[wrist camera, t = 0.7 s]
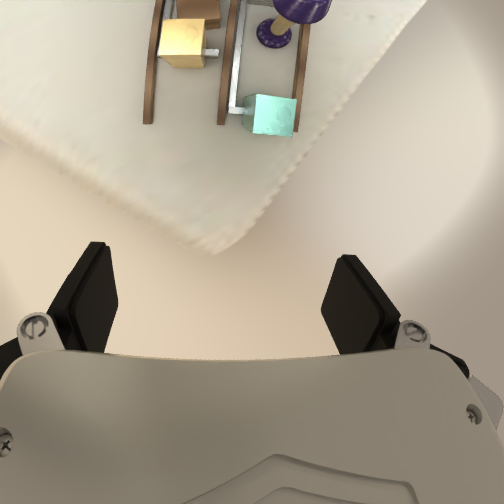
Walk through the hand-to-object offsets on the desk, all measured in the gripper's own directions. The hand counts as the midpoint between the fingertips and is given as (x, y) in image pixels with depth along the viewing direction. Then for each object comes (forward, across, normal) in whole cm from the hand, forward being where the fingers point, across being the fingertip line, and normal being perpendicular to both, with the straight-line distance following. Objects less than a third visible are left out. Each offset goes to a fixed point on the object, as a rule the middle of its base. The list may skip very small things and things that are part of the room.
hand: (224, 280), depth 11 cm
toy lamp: (+27, -5, -17) cm, 32 cm away
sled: (+26, +5, -17) cm, 32 cm away
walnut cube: (+27, +4, -18) cm, 32 cm away
